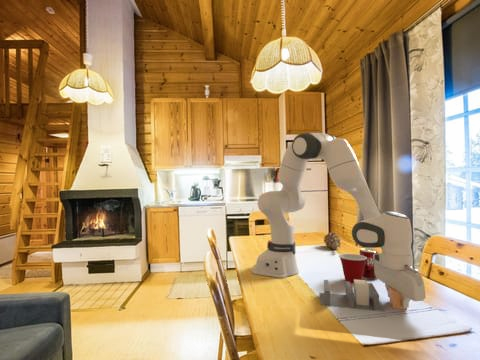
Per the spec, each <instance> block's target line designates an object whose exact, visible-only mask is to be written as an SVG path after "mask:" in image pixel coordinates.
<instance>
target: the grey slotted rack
mask: <svg viewBox="0 0 480 360" xmlns="http://www.w3.org/2000/svg"><path fill="white" fill-rule="evenodd" d="M344 282H345V294H340V293H331V290H330V284H329V280H328V279H323V291H324V292H319V305H320V306H325V307H333V308H336V307H337V308H344V309H345V308H346V309H355V310H356V309H358V310H365V311H377V312H386V309H385V308H384V306H383V304H382V303H381V301H380V295H379V293H378V291H377V289H376V287H375V285H374V284H373V283H372V282H367V283H368V285H369V306H368V305H357V304H356V303H355V300H354V288H353V287H352V283H350V282H348V281H345V280H344Z"/></svg>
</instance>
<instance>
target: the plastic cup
mask: <svg viewBox="0 0 480 360" xmlns="http://www.w3.org/2000/svg"><path fill="white" fill-rule="evenodd" d="M338 257H339V258H340V262H341V266H342V267H341V268H342V273H343V276H344V282H345V281H348V282H350V284H353V285H354V279H355V280H363V270H364V265H365V261H366V259H367V257H365V256H362V255H360V254H356V253H342V254H338Z"/></svg>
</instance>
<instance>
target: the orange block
mask: <svg viewBox="0 0 480 360" xmlns="http://www.w3.org/2000/svg"><path fill="white" fill-rule="evenodd" d="M389 297H390V298H389ZM389 297H388V298H389V304H390V306H391V307H392V308H393V309H400V310H408V308H404V307H402V306H401V305H400V304H401V303H400V300H403V298H404V297H402V294H401V293H400V292H398V291H397V290H395V289H393V288H392V287H390V286H389Z"/></svg>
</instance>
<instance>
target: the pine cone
mask: <svg viewBox="0 0 480 360" xmlns="http://www.w3.org/2000/svg"><path fill="white" fill-rule="evenodd" d="M323 243H324V245H326V246H327V247H328V248H329V249H332V250H335V249H338V248H340V247H341V245H342V242H341V238H339V235H337V234H336V233H335V232H333V231H330V232H328V233H327V234H325V235H324V236H323Z"/></svg>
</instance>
